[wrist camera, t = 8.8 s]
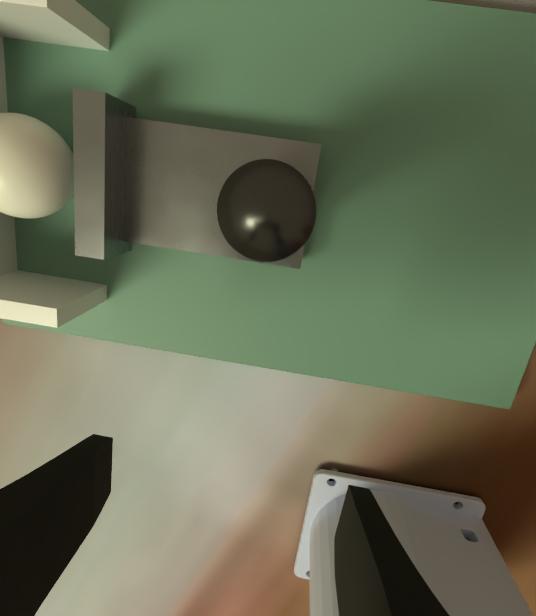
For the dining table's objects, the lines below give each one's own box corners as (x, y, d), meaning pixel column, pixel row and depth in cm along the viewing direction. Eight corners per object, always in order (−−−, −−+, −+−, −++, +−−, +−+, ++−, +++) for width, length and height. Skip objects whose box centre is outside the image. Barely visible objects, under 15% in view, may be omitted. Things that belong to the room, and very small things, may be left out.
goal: (109, 28, 16) (46, -24, 12) (106, 300, 19) (57, 327, 15) (-17, 12, 16) (-120, -44, 12) (3, 283, 19) (-71, 306, 16)
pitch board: (633, 37, 15) (656, 27, 14) (500, 398, 20) (509, 409, 19) (-7, -40, 16) (-27, -54, 15) (16, 316, 21) (3, 323, 20)
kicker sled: (325, 133, 16) (336, 100, 10) (300, 276, 17) (298, 320, 12) (108, 103, 16) (-4, 55, 10) (107, 246, 18) (11, 273, 12)
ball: (-78, 95, 13) (13, 116, 17) (-63, 213, 15) (19, 208, 18) (27, 109, 13) (97, 128, 17) (33, 229, 14) (97, 221, 18)
